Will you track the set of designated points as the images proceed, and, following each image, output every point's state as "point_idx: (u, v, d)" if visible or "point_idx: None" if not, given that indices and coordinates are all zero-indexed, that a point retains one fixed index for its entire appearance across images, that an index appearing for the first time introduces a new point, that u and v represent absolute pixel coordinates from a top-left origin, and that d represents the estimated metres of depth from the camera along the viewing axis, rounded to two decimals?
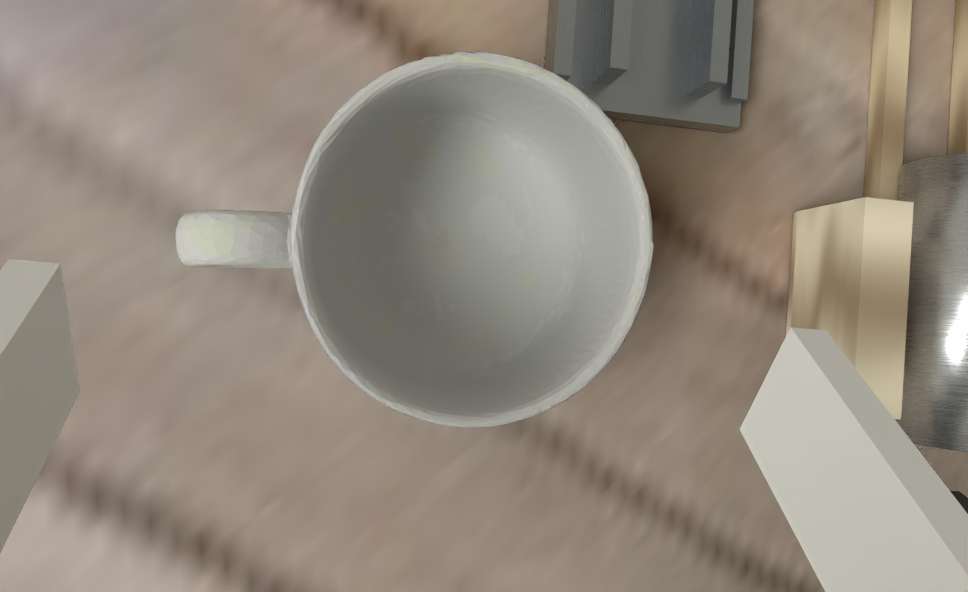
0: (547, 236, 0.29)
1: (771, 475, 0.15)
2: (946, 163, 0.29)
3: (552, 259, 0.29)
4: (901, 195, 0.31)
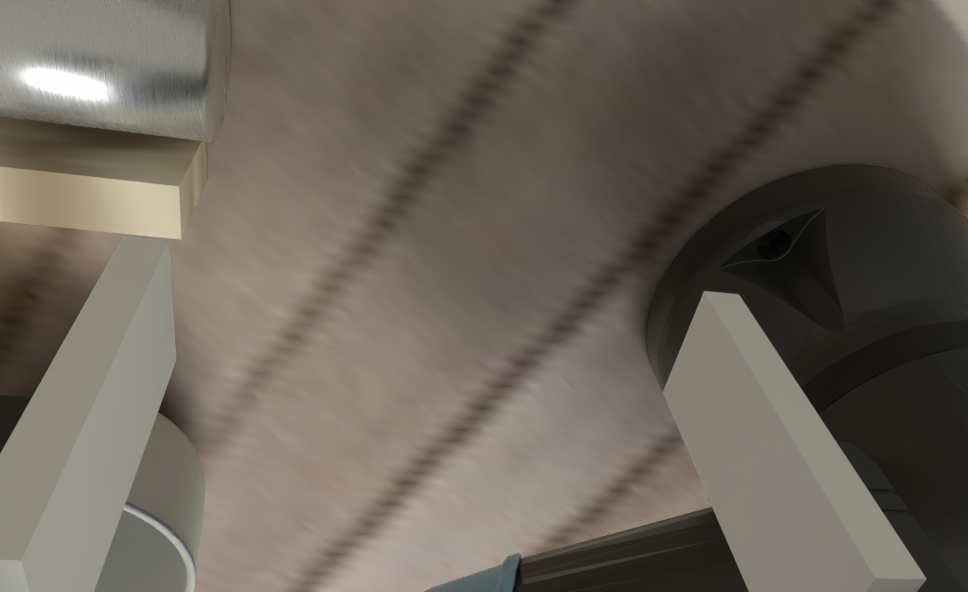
0: None
1: (686, 434, 0.15)
2: None
3: None
4: None
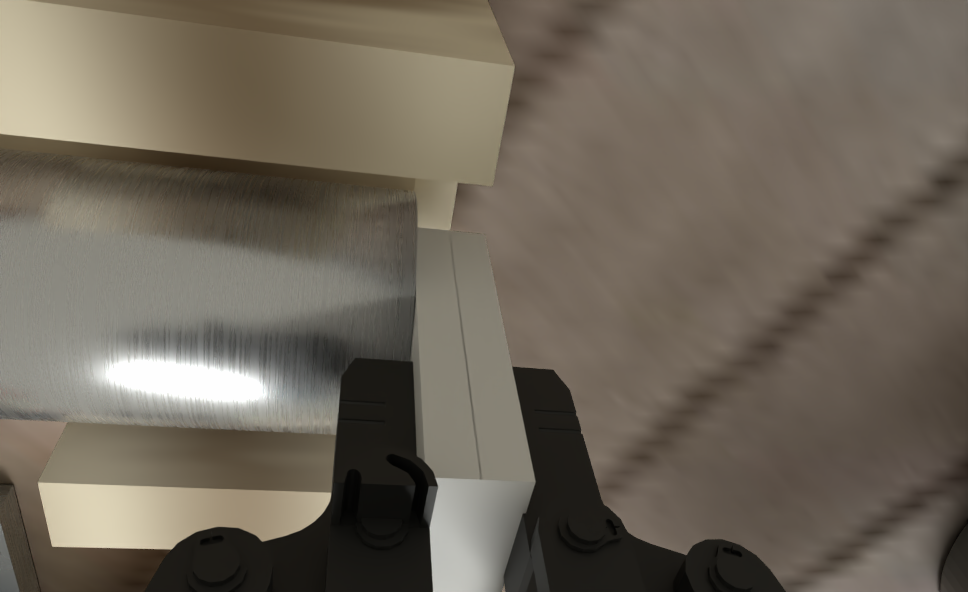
0: None
1: None
2: None
3: None
4: None
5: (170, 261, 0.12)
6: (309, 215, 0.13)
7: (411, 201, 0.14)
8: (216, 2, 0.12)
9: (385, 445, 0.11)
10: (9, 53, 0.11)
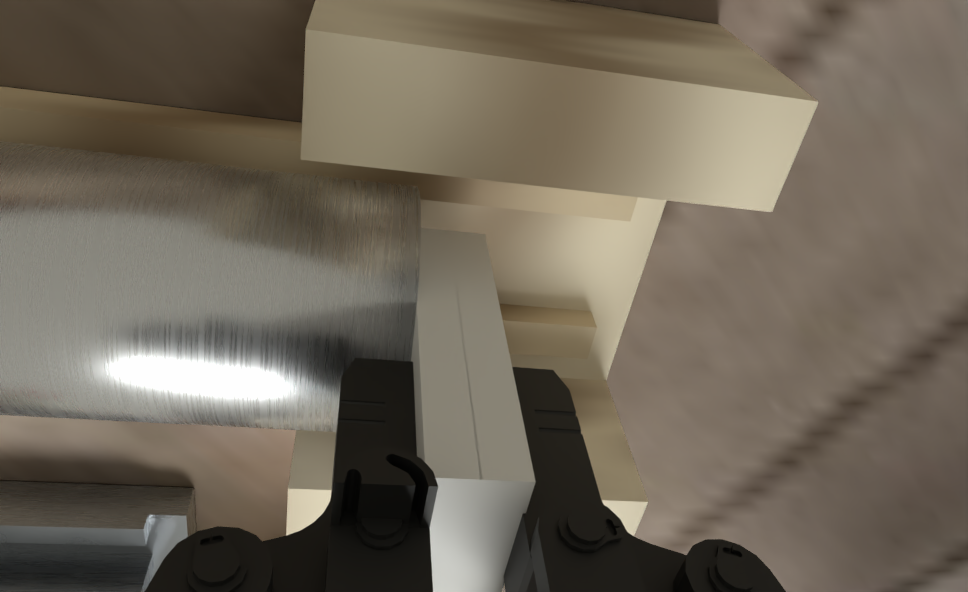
0: None
1: None
2: None
3: None
4: None
5: (169, 263, 0.12)
6: (311, 215, 0.13)
7: (414, 199, 0.14)
8: (532, 39, 0.12)
9: (385, 445, 0.11)
10: (366, 90, 0.11)
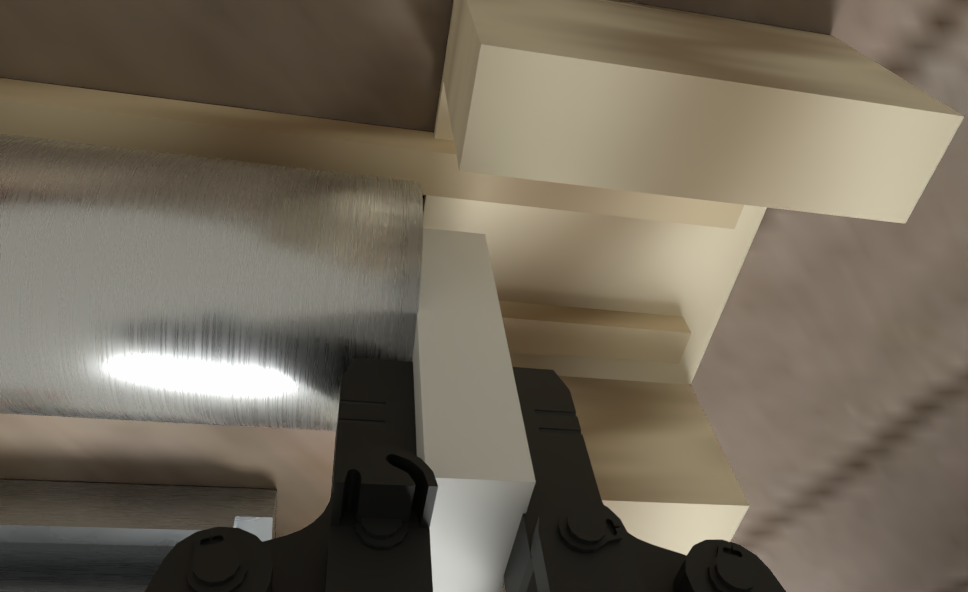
0: None
1: None
2: None
3: None
4: None
5: (165, 263, 0.12)
6: (310, 213, 0.13)
7: (416, 196, 0.14)
8: (681, 53, 0.12)
9: (385, 445, 0.11)
10: (532, 104, 0.11)
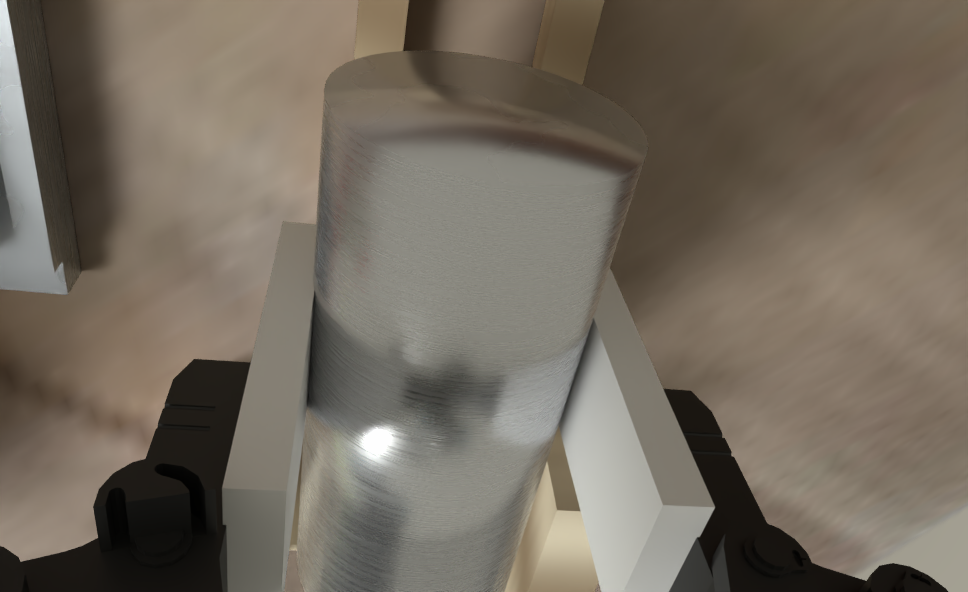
0: None
1: None
2: (334, 136, 0.11)
3: None
4: None
5: (526, 497, 0.15)
6: None
7: None
8: None
9: (203, 452, 0.10)
10: None
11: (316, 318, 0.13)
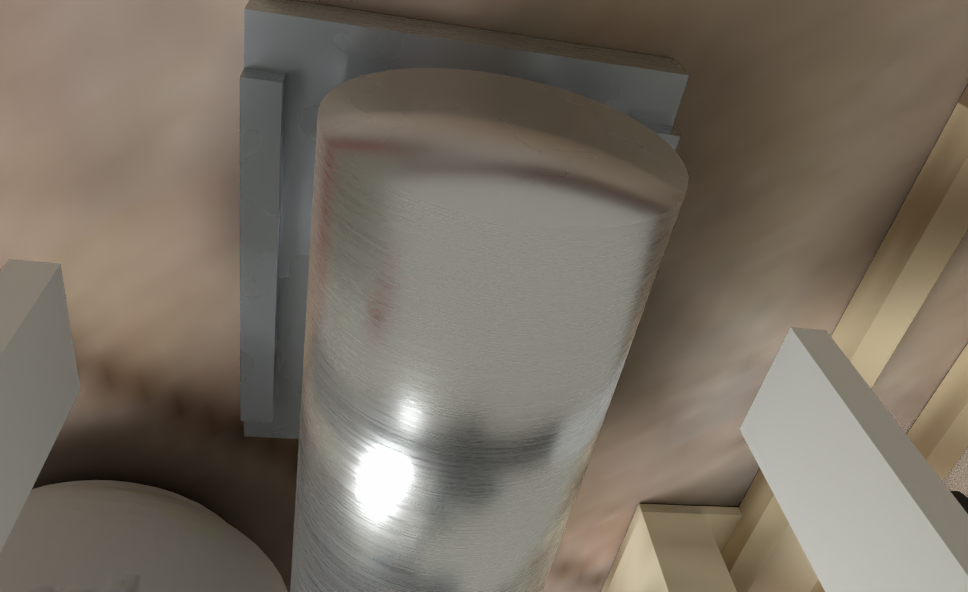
0: None
1: (771, 475, 0.15)
2: (326, 166, 0.09)
3: None
4: None
5: (541, 567, 0.13)
6: None
7: None
8: None
9: None
10: None
11: (307, 367, 0.11)
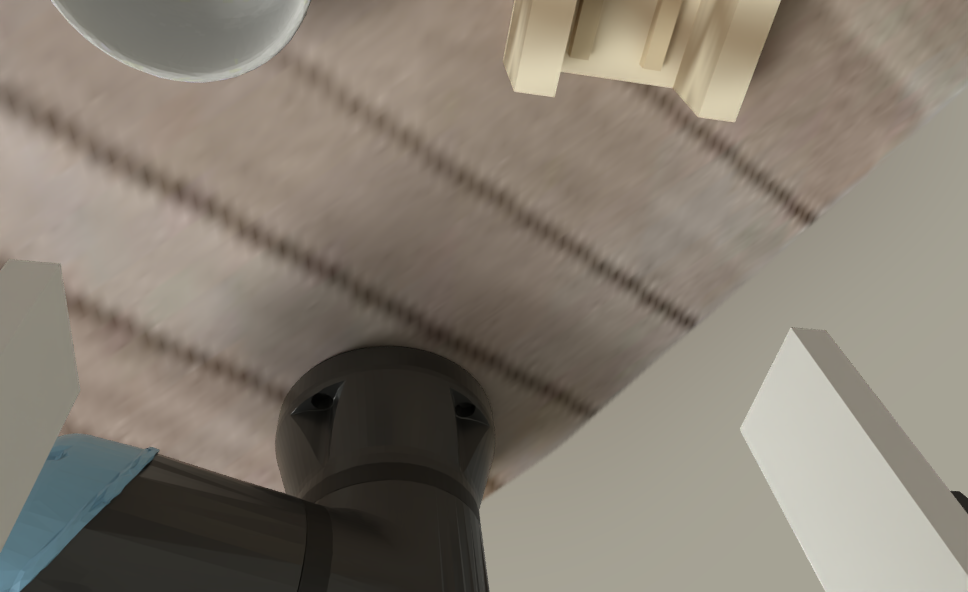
0: None
1: (771, 475, 0.15)
2: None
3: None
4: None
5: None
6: None
7: None
8: None
9: None
10: None
11: None
